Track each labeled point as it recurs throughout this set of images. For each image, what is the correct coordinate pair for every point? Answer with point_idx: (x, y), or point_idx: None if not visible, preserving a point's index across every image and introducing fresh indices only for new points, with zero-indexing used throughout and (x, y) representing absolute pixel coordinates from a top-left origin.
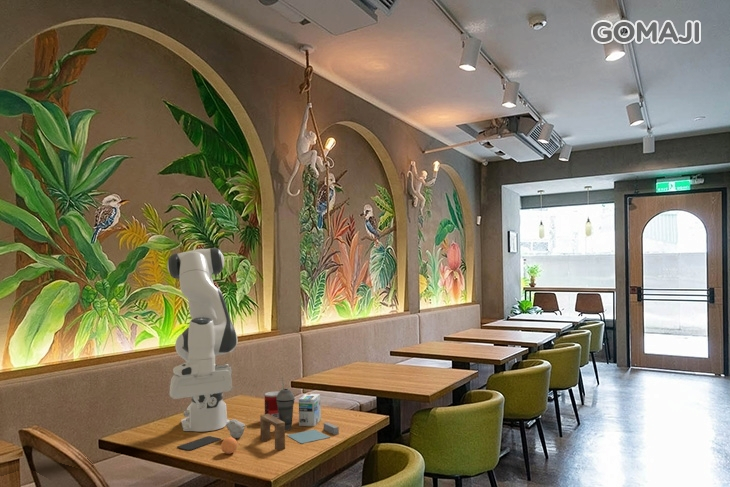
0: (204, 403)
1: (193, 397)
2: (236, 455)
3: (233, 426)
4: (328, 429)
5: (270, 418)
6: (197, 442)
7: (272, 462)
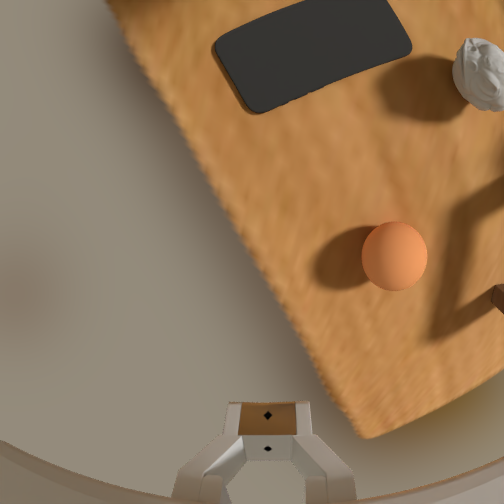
0: (287, 458)
1: (179, 484)
2: None
3: (482, 92)
4: None
5: None
6: (310, 32)
7: (428, 375)
